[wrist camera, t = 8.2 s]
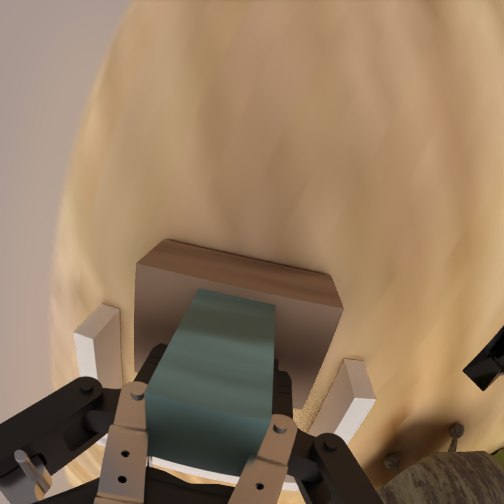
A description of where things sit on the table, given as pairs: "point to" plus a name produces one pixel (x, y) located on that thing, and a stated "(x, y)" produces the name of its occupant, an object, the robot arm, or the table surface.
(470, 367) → the black angular piece
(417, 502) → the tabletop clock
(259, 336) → the brown and teal block
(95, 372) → the frame
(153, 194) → the table surface
